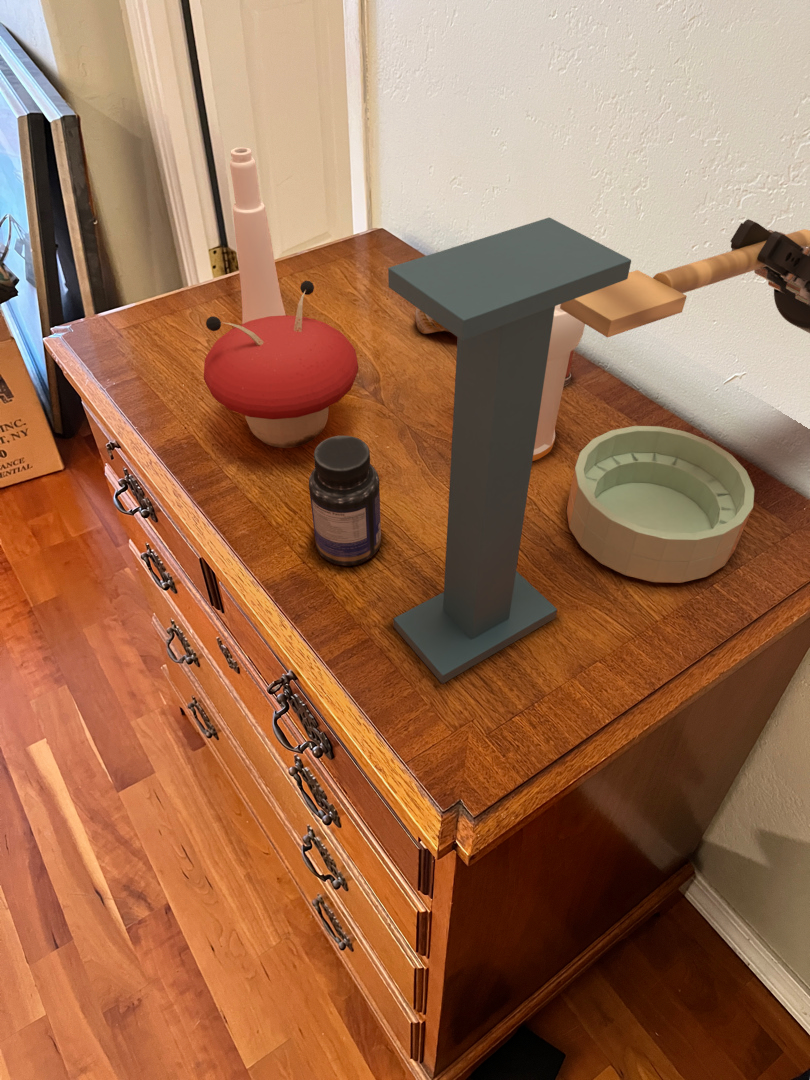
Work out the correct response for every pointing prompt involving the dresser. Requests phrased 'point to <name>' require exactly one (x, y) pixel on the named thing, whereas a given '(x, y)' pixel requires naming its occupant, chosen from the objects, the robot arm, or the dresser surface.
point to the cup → (555, 377)
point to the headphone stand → (494, 423)
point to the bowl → (658, 503)
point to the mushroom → (281, 374)
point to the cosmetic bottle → (253, 242)
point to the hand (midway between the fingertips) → (755, 240)
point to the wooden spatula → (662, 290)
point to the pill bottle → (345, 501)
